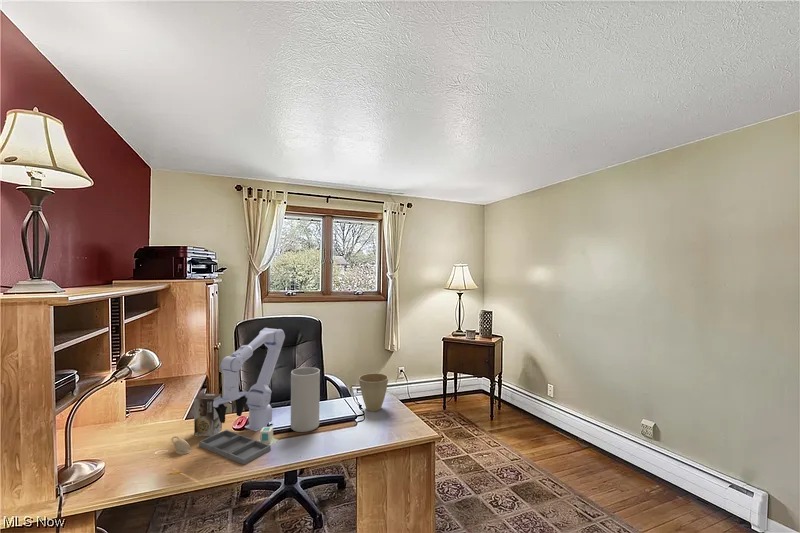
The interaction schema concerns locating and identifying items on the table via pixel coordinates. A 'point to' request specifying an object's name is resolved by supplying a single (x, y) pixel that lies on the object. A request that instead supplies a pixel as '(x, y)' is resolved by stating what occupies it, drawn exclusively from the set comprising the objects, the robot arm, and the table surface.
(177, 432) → the table surface
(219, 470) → the table surface
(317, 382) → the cylinder vase
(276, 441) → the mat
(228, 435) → the tray
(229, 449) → the tray
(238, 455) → the tray
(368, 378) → the plant pot
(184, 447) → the decorative ornament
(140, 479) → the table surface
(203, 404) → the coffee box
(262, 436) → the letter block
